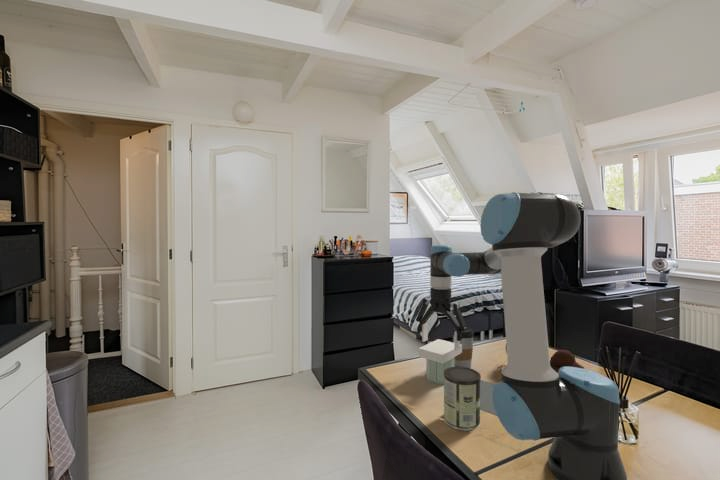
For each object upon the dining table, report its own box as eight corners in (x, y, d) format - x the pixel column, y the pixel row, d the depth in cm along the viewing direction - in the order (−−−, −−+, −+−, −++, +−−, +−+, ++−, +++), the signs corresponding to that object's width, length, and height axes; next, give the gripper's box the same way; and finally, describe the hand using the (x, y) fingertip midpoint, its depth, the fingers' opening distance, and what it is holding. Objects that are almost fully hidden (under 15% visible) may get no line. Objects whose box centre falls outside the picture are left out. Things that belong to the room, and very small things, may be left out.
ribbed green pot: (445, 387, 124) (445, 361, 123) (421, 378, 130) (421, 354, 130) (459, 378, 131) (459, 354, 131) (435, 370, 138) (435, 347, 137)
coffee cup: (447, 364, 144) (448, 328, 143) (463, 360, 147) (464, 325, 147) (461, 372, 136) (462, 333, 136) (478, 368, 140) (478, 330, 139)
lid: (443, 363, 122) (443, 355, 122) (418, 356, 129) (418, 348, 128) (462, 352, 132) (462, 344, 132) (438, 346, 139) (438, 339, 139)
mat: (497, 417, 104) (497, 415, 104) (448, 399, 115) (448, 398, 115) (520, 393, 119) (520, 392, 119) (475, 379, 130) (475, 378, 130)
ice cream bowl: (590, 402, 113) (591, 356, 112) (552, 399, 115) (553, 353, 114) (577, 387, 123) (578, 345, 122) (542, 384, 125) (543, 343, 125)
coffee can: (461, 408, 109) (461, 363, 109) (488, 424, 101) (488, 376, 100) (435, 417, 104) (436, 370, 104) (461, 435, 95) (462, 384, 95)
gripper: (477, 290, 124) (477, 350, 125) (417, 282, 140) (417, 335, 141) (467, 293, 118) (467, 355, 119) (407, 284, 135) (406, 339, 136)
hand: (440, 344), depth 130 cm, fingers open, 13 cm apart
